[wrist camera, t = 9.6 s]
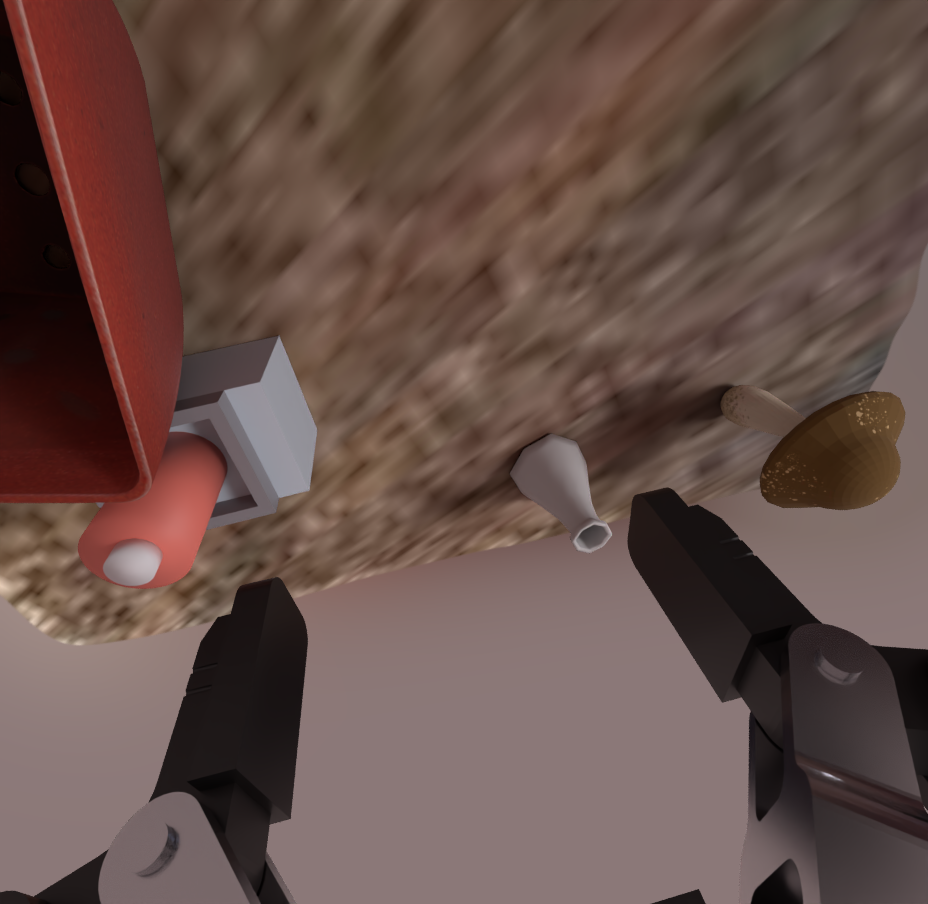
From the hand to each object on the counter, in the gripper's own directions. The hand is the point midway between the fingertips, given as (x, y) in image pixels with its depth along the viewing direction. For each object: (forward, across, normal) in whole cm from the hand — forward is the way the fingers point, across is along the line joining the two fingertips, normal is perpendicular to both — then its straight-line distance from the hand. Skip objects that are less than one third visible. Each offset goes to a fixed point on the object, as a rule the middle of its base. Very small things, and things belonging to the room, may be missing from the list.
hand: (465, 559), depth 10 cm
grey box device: (+26, +15, +7) cm, 30 cm away
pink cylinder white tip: (+18, +15, +6) cm, 24 cm away
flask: (+26, -11, +20) cm, 34 cm away
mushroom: (+26, -30, +16) cm, 43 cm away
